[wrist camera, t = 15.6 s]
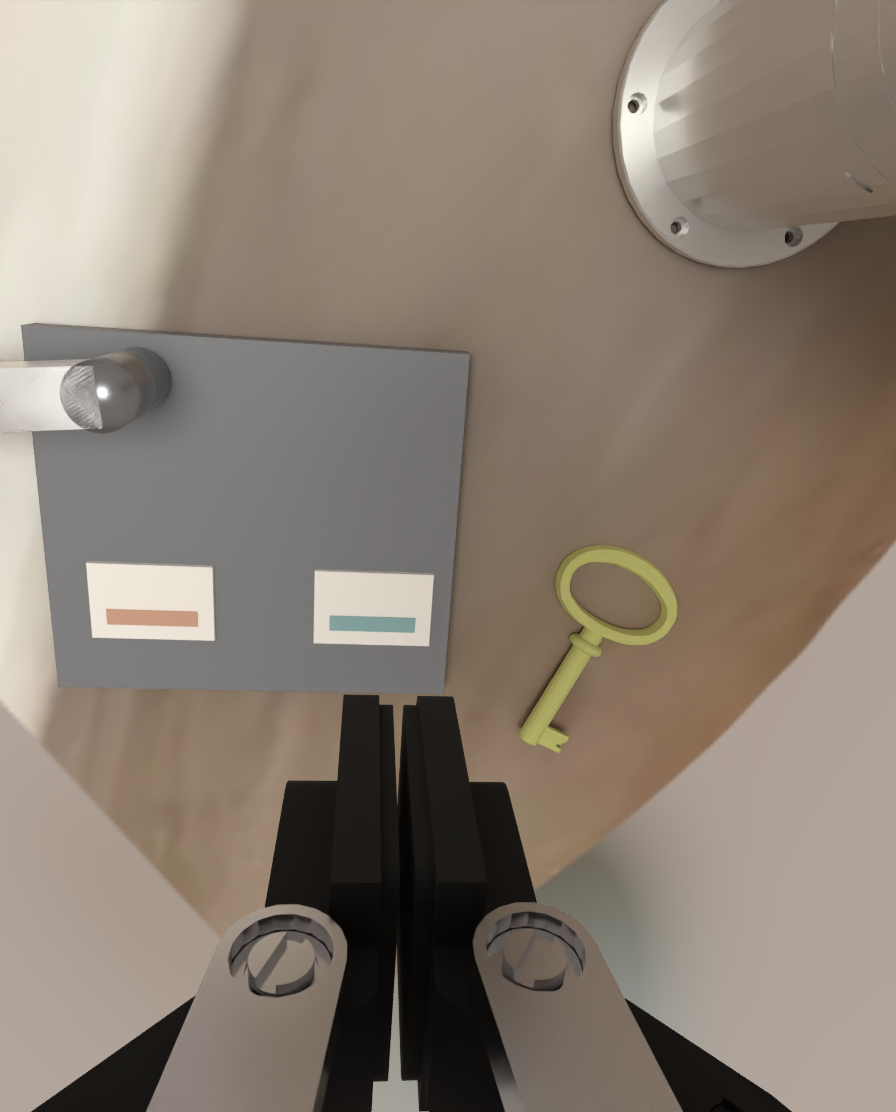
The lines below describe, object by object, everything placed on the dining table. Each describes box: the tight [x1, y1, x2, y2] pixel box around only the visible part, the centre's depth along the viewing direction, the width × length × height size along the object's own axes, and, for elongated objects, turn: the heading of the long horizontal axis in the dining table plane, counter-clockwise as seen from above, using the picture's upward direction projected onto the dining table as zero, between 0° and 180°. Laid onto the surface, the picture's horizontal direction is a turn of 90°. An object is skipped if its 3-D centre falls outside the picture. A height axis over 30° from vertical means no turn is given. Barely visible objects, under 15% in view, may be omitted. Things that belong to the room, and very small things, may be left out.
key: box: [518, 545, 677, 753], centre depth 44 cm, size 7×12×2 cm, turn 168°
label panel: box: [21, 323, 470, 694], centre depth 39 cm, size 20×18×2 cm
